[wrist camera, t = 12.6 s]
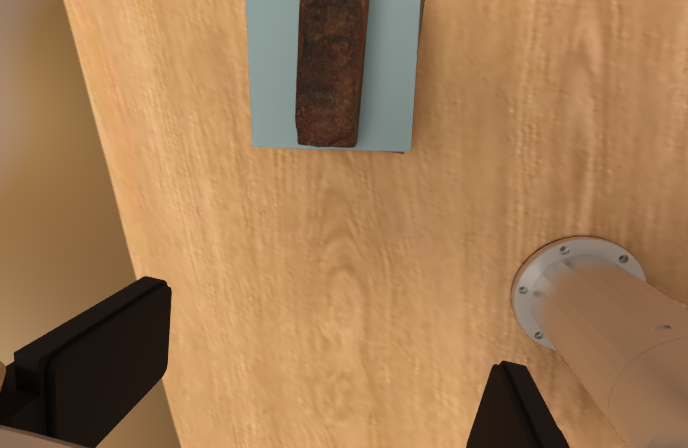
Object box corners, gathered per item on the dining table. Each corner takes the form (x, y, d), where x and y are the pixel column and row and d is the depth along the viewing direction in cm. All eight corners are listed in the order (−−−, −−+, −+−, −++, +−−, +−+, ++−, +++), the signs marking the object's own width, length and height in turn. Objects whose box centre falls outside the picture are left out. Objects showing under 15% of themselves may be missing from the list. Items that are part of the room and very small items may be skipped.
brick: (313, -19, 26) (297, -48, 21) (372, -16, 25) (368, -44, 21) (306, 141, 29) (290, 146, 24) (358, 146, 28) (352, 151, 24)
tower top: (417, -11, 30) (422, -36, 25) (407, 146, 33) (410, 151, 28) (266, -8, 31) (244, -32, 26) (271, 143, 34) (252, 147, 29)
